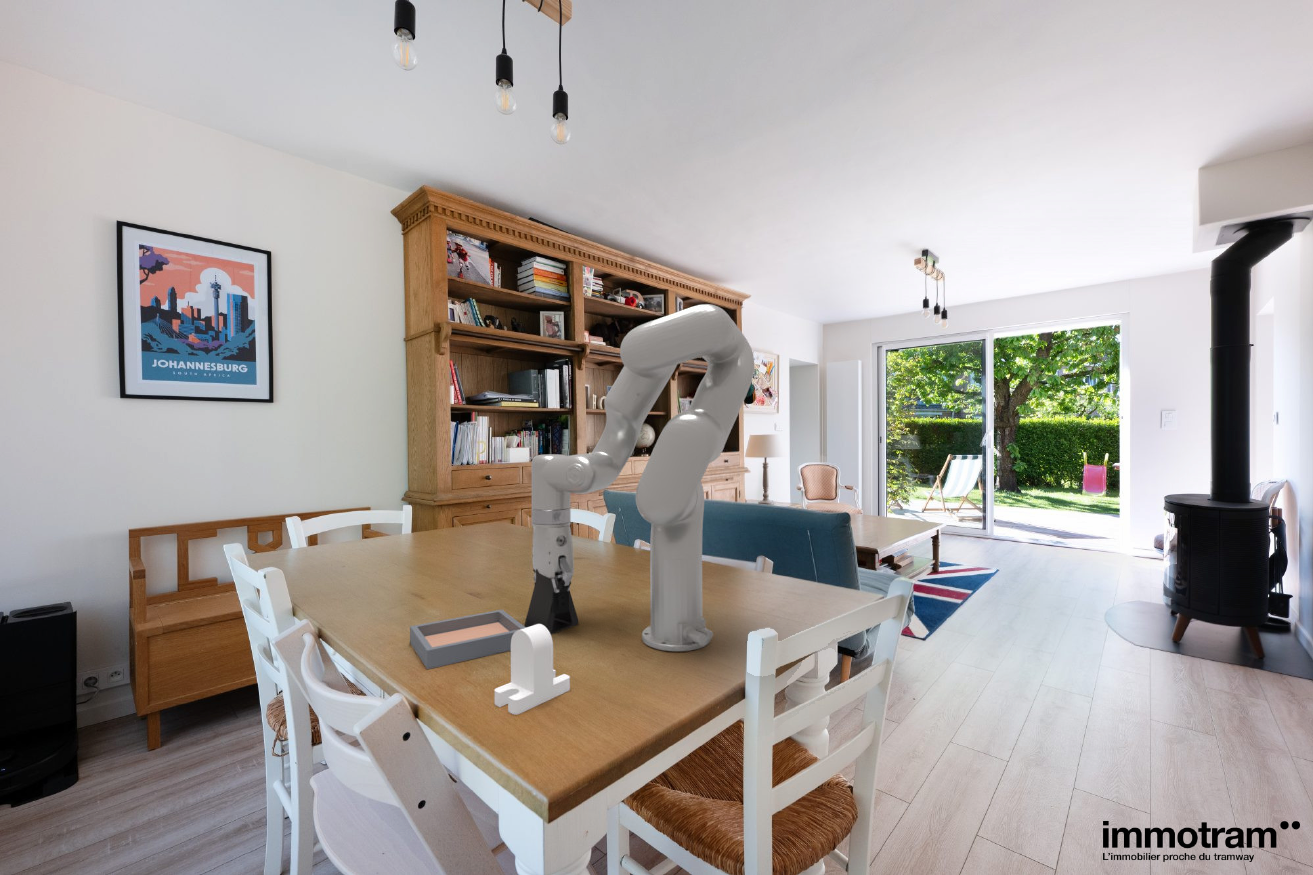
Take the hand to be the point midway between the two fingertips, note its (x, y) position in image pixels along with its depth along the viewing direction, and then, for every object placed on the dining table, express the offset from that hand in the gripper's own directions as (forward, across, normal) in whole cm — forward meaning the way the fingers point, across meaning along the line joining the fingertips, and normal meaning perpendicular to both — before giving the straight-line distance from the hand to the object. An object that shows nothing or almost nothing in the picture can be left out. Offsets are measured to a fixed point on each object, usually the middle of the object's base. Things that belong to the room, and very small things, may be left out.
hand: (551, 606), depth 108 cm
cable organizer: (+4, -26, +14) cm, 29 cm away
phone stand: (+4, 0, 0) cm, 4 cm away
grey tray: (+4, 0, +16) cm, 16 cm away
